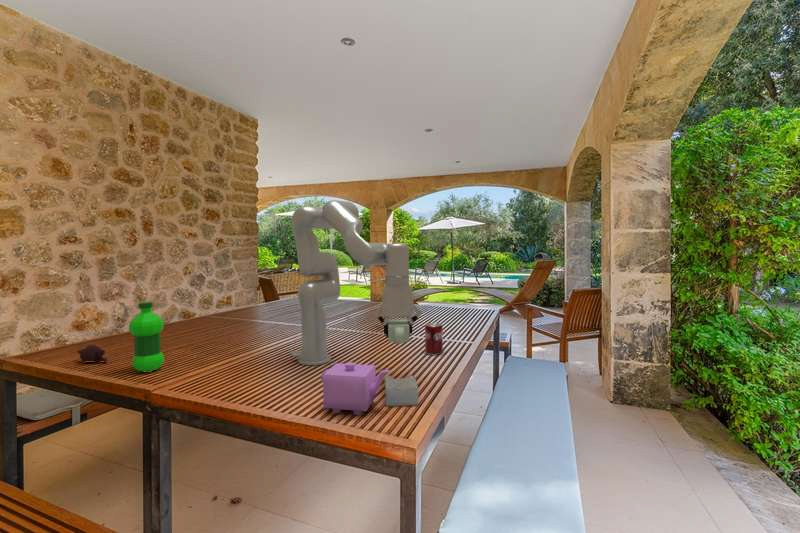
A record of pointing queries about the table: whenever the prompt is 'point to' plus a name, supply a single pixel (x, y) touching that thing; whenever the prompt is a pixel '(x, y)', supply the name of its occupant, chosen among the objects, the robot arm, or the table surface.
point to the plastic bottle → (147, 339)
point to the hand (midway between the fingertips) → (398, 335)
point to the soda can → (433, 338)
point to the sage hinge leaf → (398, 331)
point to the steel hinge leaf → (401, 391)
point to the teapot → (350, 387)
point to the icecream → (92, 354)
